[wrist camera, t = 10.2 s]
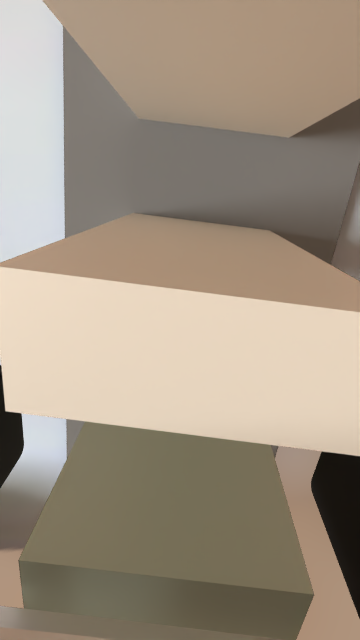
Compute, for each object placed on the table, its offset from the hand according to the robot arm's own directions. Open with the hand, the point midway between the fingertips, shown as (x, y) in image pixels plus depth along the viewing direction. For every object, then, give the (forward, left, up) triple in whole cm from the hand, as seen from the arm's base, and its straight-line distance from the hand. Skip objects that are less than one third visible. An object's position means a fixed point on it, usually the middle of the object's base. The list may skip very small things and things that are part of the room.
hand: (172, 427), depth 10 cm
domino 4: (-5, 0, -5) cm, 6 cm away
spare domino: (+1, 0, -5) cm, 5 cm away
